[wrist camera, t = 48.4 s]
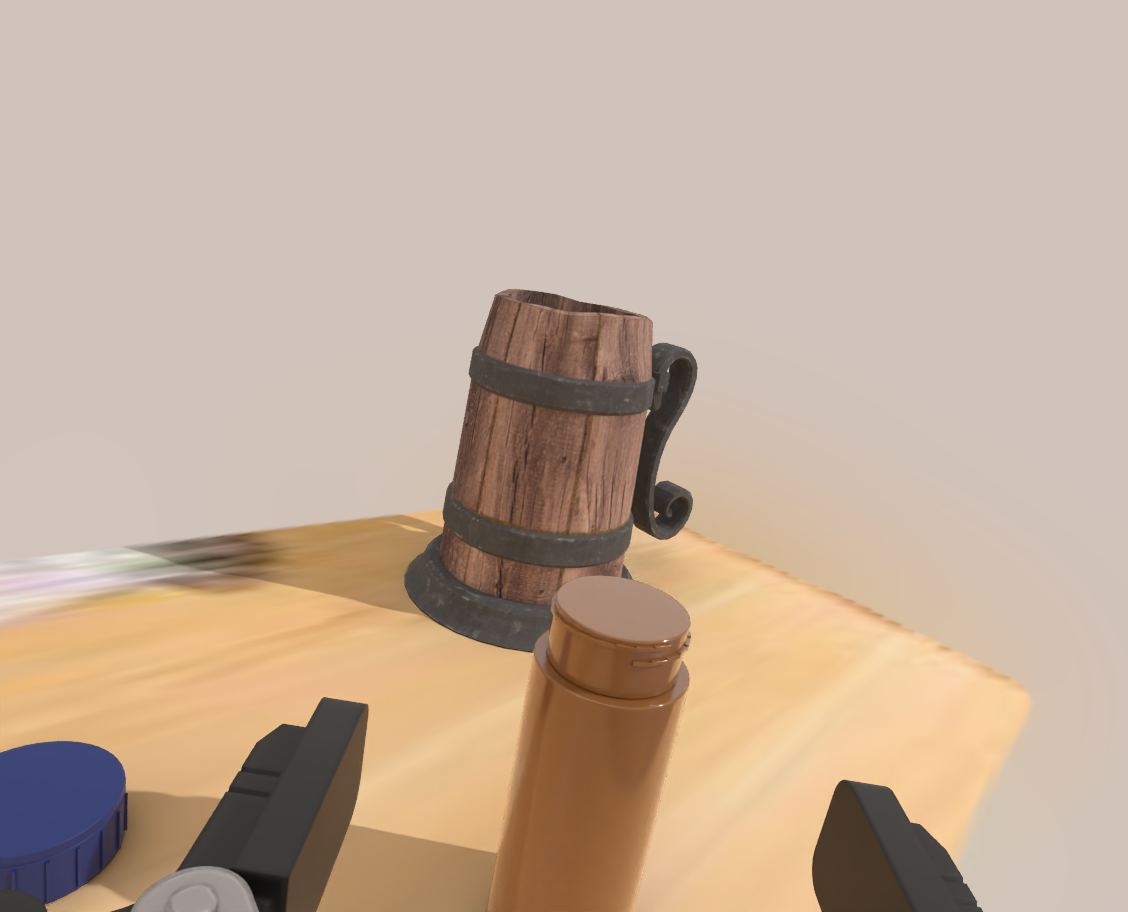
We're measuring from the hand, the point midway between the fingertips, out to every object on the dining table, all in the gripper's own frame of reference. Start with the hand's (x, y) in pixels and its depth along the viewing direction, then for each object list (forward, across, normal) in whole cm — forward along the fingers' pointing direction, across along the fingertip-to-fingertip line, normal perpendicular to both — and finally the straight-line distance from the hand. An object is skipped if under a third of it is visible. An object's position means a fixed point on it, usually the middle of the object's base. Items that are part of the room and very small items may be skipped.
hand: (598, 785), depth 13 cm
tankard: (+40, +1, -16) cm, 43 cm away
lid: (+11, -17, -14) cm, 25 cm away
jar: (+12, +2, -15) cm, 19 cm away
